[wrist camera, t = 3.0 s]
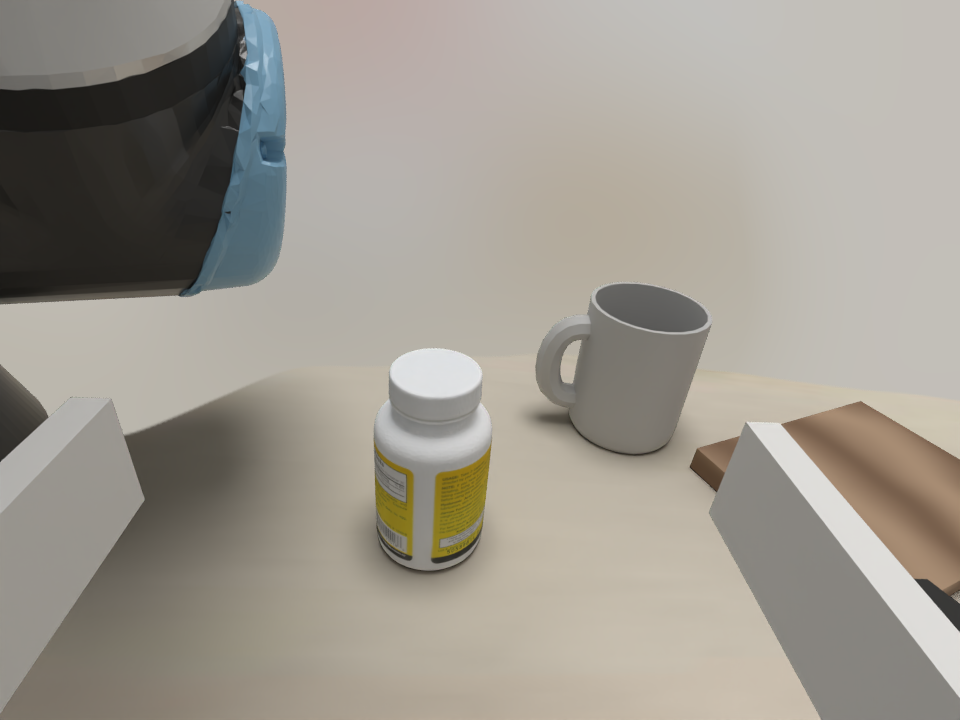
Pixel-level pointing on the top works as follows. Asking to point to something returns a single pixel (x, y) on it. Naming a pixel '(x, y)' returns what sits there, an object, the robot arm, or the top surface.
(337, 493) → the top surface
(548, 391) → the cup
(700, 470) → the walnut board
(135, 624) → the top surface
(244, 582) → the top surface
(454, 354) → the supplement bottle
